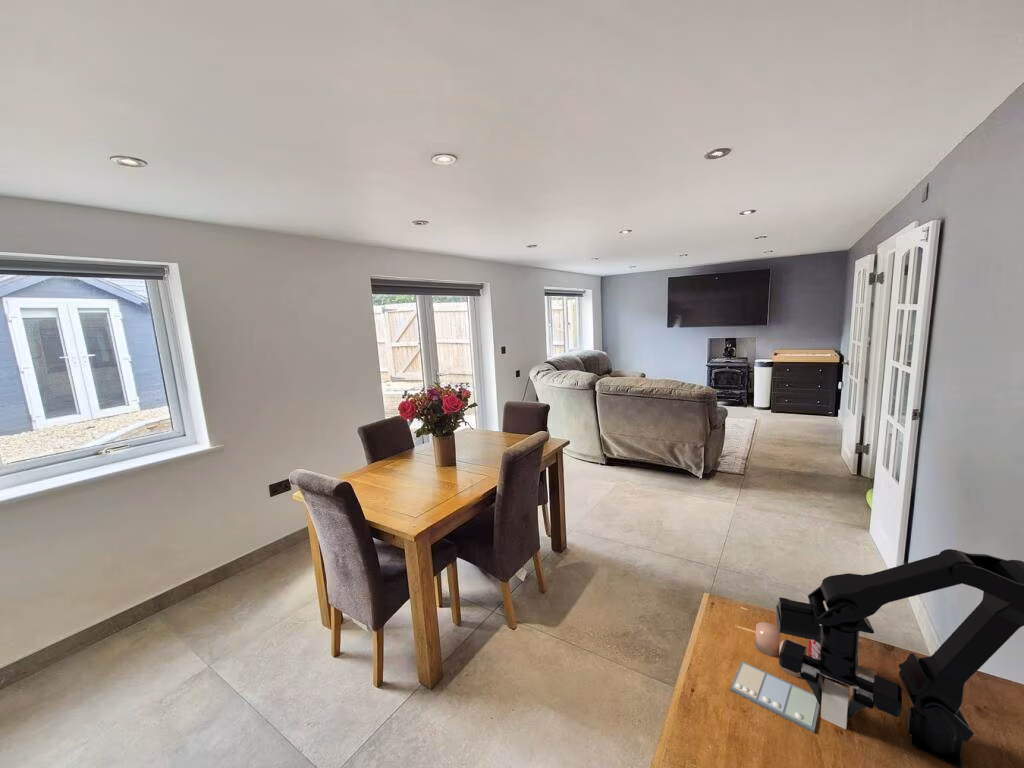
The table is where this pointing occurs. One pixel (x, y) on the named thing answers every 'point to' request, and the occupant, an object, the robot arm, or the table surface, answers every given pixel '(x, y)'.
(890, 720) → the table surface
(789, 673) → the pink egg
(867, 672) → the brown cube
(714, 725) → the table surface
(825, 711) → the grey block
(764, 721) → the table surface
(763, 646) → the pink rounded lump
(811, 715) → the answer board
